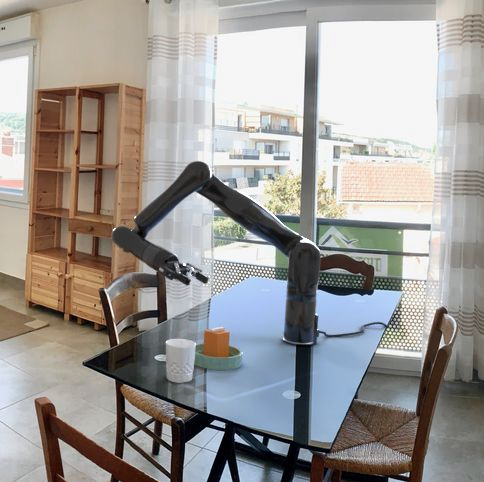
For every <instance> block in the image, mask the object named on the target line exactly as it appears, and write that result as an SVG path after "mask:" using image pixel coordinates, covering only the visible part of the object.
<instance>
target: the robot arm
mask: <svg viewBox="0 0 484 482" xmlns="http://www.w3.org/2000/svg"><path fill="white" fill-rule="evenodd" d="M194 193H197V194H199V195H200V196H202V197H203V198H205V199H207V200H208V201H210V202H211V203H212V204H214V205H215V206H216V207H217V208H218V209H219V210H221V212H222V213H224V214H225V216H227V217H228V218H229V219H230V220H232V221H233V222H234V223H236V224H237V225H238V226H239V227H241V228H243V229H244V230H245V231H247V232H248V233H250V234H252V235H254V236H255V237H257V238H259V239H261V240H263V241H265V242H267V243H268V244H270V245H272V246H273V247H274V248H276V249H277V250H278V251H279V252H280V253H282V255H284V257H286V258H287V259H288V264H287V265H288V266H287V267H288V268H287V278H286V284H285V285H286V286H285V287H286V288H285V289H286V290H285V304H284V305H285V307H284V323H283V331H282V336H283V337H282V341H283V342H284V343H286V344H290V345H295V346H302V347H303V346H304V347H305V346H307V347H308V346H312V345H317V342H318V338H319V337H320V334H322V335H324V337H327V338H339V337H345V336H346V337H348V336H354V335H359V334H362V333H364V331H365V328H366V327H369V326H373V325H382V326H383V327H385V328H388V325H387V324H386V323H385V322H383V321H375V322H369V323H365V324H362V325H361V327H360V328H361V330H357V331H354V332H347V333H337V334H328V333H327V332H326V331H323V330H320V329H318V327H319V315H318V313H317V301H318V300H317V299H318V286H319V282H320V273H321V272H320V271H321V251H320V249H319V247H318V246H317V245H316V244H315V243H314V242H313V241H311V240H309V239H307V238H305V237H304V236H301V235H300V234H299V233H297V232H295V231H294V230H292V229H290V228H289V227H287V226H286V225H284V224H283V223H282V222H281V221H280V219H278V218H277V217H276V216H275V215H274V214H273V213H272V212H270V211H269V210H268V209H267V208H266V207H264V206H263V205H261V204H260V203H259V202H257V201H256V200H255V199H253V198H252V197H250V196H249V195H246V194H245V193H244V192H241V191H239V190H237V189H235V188H233V187H231V186H229V185H228V184H226V183H225V182H224V181H222V180H221V179H220V178H218V177H217V176H216V175H215V174H214V173H213V172H212V170H211V168H210V165H208V164H207V163H206V162H204V161H201V160H195V161H191V162H189V163H188V164H187V165H186V166H185V167H184V169H183V170H182V171H181V173H180V174H179V175H178V177H177V178H176V179H175V180H174V182H172V184H171V185H170V186H168V187H167V188H166V189H165V190H164V191H162V193H161V194H160V195H158V196H157V197H156V198H155V199H153V200H152V201H151V202H150V203H148V204H147V205H146V206H145V207H144V208H143V209H142V210H141V211H140V212H139V213H137V214H136V216H134V218H133V222H134V226H133V228H130V227H129V226H126V225H119V226H116V227H115V228H114V229H112V231H111V234H110V236H111V237H110V238H111V241H112V242H113V244H114V245H115V246H116V247H117V248H119V249H120V250H121V251H122V252H123V253H125V254H126V253H127V254H129V253H130V255H132V256H133V257H135V258H136V259H137V260H139V261H140V262H142V263H144V264H145V265H146V266H148V268H151V269H152V270H154V271H156V272H157V273H158V274H160V275H162V276H164V277H165V278H166V279H168V280H169V281H173V280H174V281H176V282H178V281H179V282H180V283H182V284H183V285H185V286H190V285H191V281H192V278H193V279H195V280H197V281H198V282H200V283H202V284H204V285H206V284H208V282H209V280H210V279H209V276H207V275H205V274H203V269H201V268H200V267H197V266H195V265H193V264H192V263H190V262H186V264H185V263H184V262H180V260H179V257H178V255H177V254H175V253H174V252H172V251H170V250H168V249H166V248H164V247H163V246H161V245H158V244H155V243H154V242H152V241H150V240H148V239H146V238H147V236H148V235H149V233H150V232H151V231H152V230H154V229H155V227H157V226H158V225H159V224H160V223H161V222H163V221H164V220H165V218H167V216H169V214H171V213H172V212H173V210H174V209H176V207H177V206H178V205H179V204H181V202H182V201H184V200H185V199H187V198H188V197H190V195H191V194H194Z"/></svg>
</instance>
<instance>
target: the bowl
mask: <svg viewBox="0 0 484 482" xmlns="http://www.w3.org/2000/svg"><path fill="white" fill-rule="evenodd" d="M203 353H204V342H201V343H196V350H195V361H194V366H196V367H199V368H201V369H202V368H203V369H208V370H213V371H214V370H215V371H231V370H232V371H233V370H236V369H239V368H240V367H242V365H243V350H241V349H240V348H238V347H236V346H234V345H230V344H229V356H228V357H211V356H205V355H203Z"/></svg>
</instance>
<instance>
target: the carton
mask: <svg viewBox="0 0 484 482" xmlns="http://www.w3.org/2000/svg"><path fill="white" fill-rule="evenodd" d="M203 343H204V353H203V355H205V356H211V357H228V356H229V345H230V331H229V330H225V327H224V326H217V327H213V328H209V329H204V332H203Z"/></svg>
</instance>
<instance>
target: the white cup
mask: <svg viewBox="0 0 484 482" xmlns="http://www.w3.org/2000/svg"><path fill="white" fill-rule="evenodd" d="M196 344H197V343H196V342H195V341H193V340H190V339H186V338H170V339H167V340H166V341H165V368H166V379H167V380H168V381H169V382H171V383H176V384H184V383H186V382H187V383H188V382H191V381H192V380H193V378H194V377H193V376H194V368H195V365H194V361H195V350H196Z"/></svg>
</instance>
